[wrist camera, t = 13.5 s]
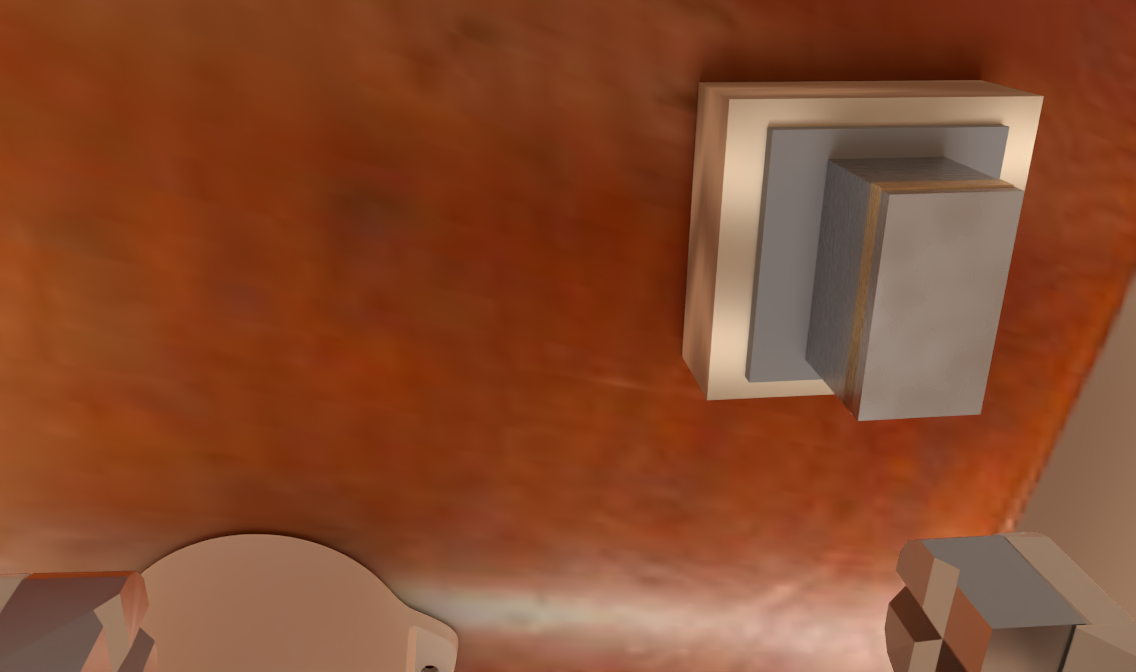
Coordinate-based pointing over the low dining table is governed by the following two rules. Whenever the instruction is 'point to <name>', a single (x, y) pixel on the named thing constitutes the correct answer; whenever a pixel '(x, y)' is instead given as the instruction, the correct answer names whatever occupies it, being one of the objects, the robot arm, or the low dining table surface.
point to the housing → (910, 284)
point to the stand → (809, 203)
